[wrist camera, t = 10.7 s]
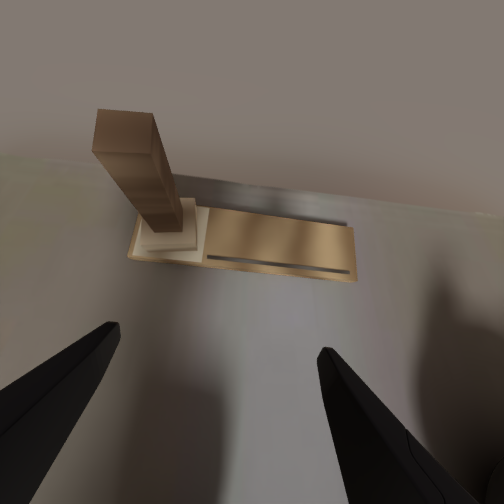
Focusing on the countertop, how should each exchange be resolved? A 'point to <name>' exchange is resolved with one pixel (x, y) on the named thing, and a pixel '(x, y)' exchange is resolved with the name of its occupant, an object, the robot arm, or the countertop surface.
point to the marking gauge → (145, 179)
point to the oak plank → (262, 246)
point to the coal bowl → (496, 485)
